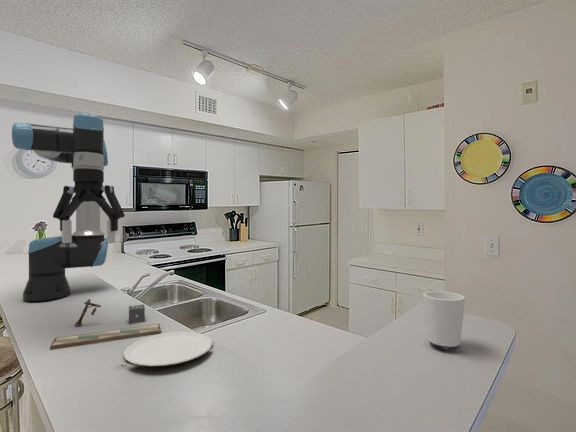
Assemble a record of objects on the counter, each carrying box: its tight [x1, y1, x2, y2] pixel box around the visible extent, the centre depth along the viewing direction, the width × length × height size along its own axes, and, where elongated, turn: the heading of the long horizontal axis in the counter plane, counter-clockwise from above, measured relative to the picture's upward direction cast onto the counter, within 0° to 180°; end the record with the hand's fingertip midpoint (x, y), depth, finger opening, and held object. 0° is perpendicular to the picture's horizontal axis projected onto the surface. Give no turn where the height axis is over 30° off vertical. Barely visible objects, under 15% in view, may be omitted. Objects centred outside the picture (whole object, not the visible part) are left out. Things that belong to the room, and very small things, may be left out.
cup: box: [422, 290, 466, 350], centre depth 85 cm, size 10×10×13 cm
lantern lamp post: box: [74, 298, 102, 327], centre depth 101 cm, size 4×2×8 cm, turn 113°
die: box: [128, 304, 146, 325], centre depth 105 cm, size 5×4×5 cm
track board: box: [49, 323, 162, 351], centre depth 91 cm, size 6×26×1 cm, turn 116°
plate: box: [123, 331, 213, 368], centre depth 83 cm, size 21×21×1 cm
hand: (88, 243), depth 95 cm, fingers open, 13 cm apart
